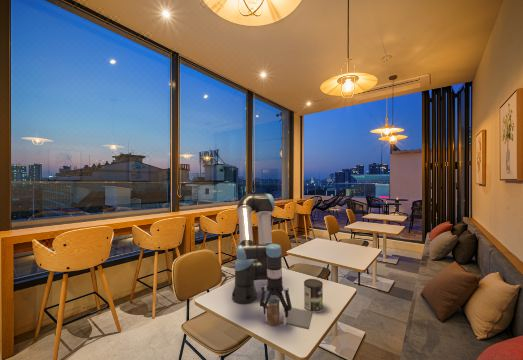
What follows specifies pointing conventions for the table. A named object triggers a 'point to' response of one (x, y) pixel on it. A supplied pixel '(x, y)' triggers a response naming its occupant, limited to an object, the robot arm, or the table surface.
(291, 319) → the slate coaster
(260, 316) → the table surface
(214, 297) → the table surface
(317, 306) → the coffee can
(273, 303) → the walnut block
